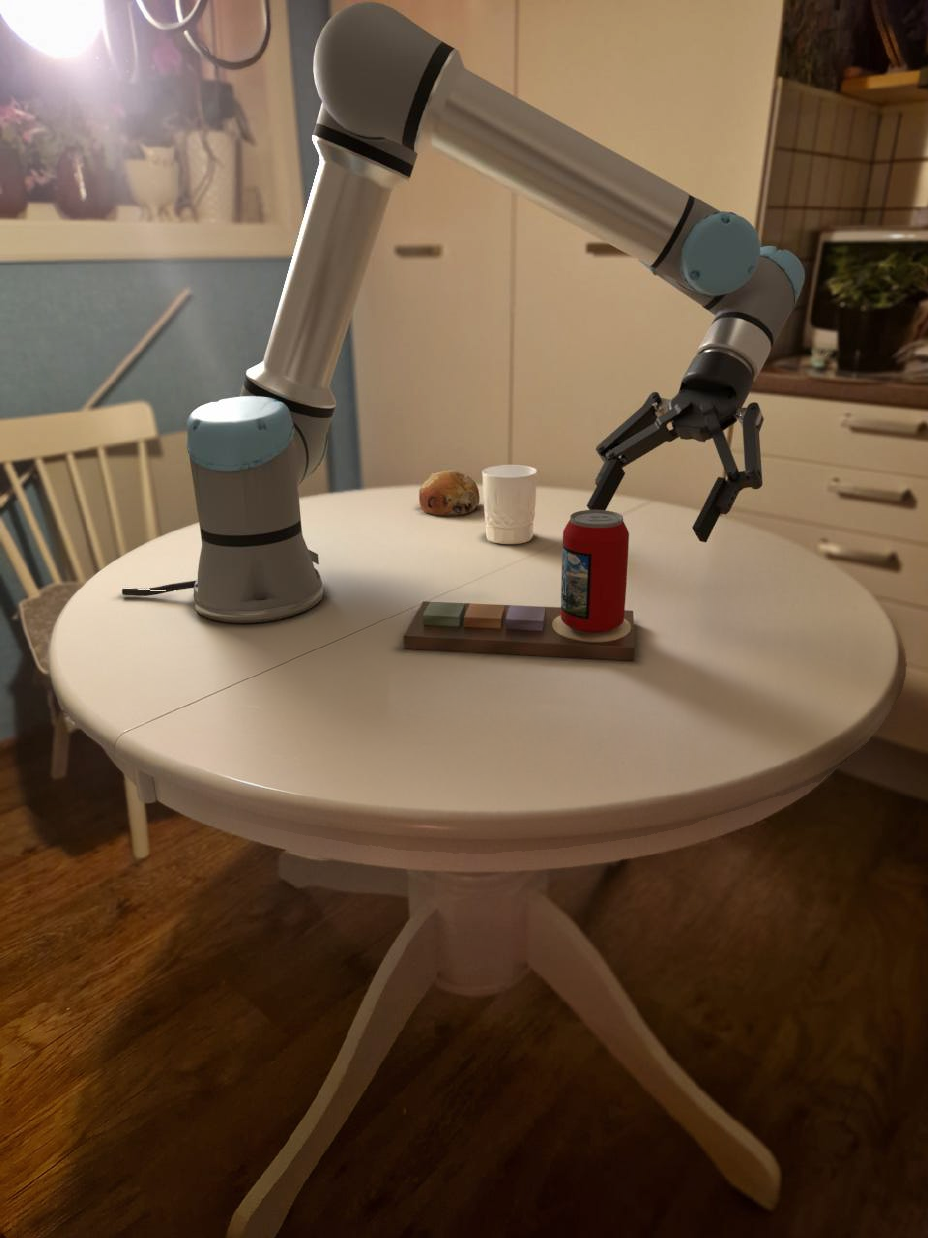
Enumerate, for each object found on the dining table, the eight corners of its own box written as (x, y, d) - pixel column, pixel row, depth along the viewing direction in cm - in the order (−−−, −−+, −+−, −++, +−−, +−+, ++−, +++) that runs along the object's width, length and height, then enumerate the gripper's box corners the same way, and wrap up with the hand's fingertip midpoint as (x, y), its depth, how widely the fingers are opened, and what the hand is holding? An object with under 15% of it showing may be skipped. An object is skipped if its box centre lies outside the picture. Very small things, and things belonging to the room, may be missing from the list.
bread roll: (478, 522, 147) (476, 475, 147) (482, 512, 137) (480, 462, 137) (420, 524, 146) (418, 477, 147) (420, 514, 136) (418, 464, 137)
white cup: (536, 530, 130) (538, 464, 126) (535, 546, 123) (536, 477, 119) (484, 529, 131) (484, 464, 127) (480, 545, 124) (479, 476, 120)
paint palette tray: (403, 648, 92) (402, 625, 91) (423, 612, 101) (422, 591, 100) (633, 661, 88) (635, 636, 87) (632, 622, 97) (633, 600, 96)
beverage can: (555, 614, 96) (558, 508, 91) (615, 611, 96) (621, 506, 91) (566, 639, 89) (569, 527, 85) (630, 636, 90) (637, 524, 85)
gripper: (838, 400, 95) (758, 564, 90) (642, 382, 111) (567, 520, 106) (825, 354, 89) (739, 526, 85) (621, 341, 105) (541, 486, 101)
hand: (643, 523), depth 96 cm, fingers open, 13 cm apart
